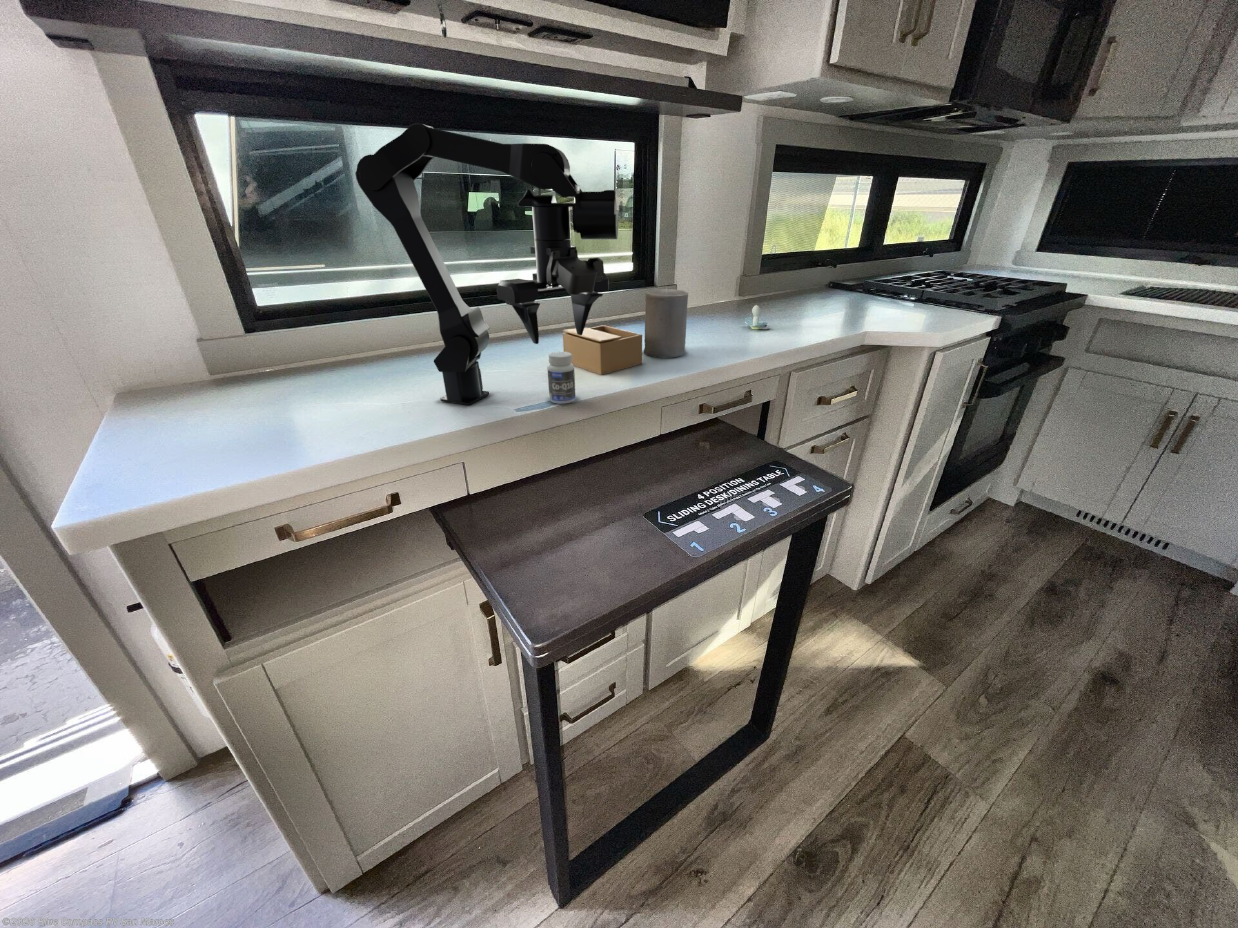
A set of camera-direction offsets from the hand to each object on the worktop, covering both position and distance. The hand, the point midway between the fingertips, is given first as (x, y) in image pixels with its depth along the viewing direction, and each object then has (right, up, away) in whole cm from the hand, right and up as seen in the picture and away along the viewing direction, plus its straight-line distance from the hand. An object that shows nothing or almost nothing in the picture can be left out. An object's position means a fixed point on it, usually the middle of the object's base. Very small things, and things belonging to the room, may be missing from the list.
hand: (558, 339), depth 87 cm
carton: (+7, +1, +26) cm, 27 cm away
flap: (+4, +6, +21) cm, 22 cm away
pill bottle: (0, -10, +5) cm, 11 cm away
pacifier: (+49, +16, +55) cm, 75 cm away
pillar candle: (+21, +5, +33) cm, 39 cm away
